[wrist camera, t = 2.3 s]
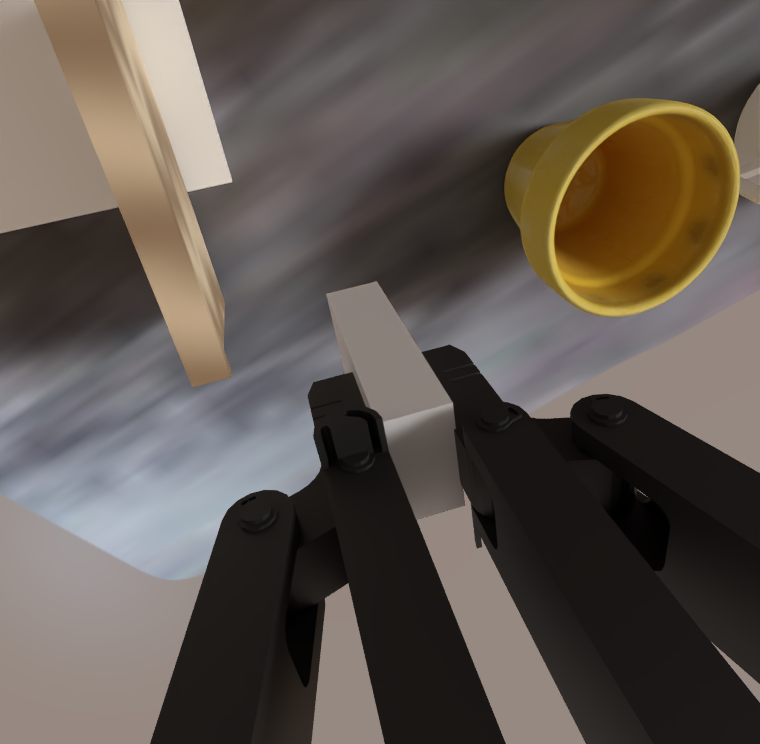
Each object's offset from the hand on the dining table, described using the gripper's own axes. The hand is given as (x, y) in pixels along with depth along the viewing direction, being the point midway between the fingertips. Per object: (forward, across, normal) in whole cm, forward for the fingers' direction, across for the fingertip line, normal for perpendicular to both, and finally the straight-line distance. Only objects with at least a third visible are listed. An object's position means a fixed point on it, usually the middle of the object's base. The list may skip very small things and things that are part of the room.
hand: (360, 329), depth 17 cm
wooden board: (+19, -6, +12) cm, 23 cm away
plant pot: (+19, +16, -3) cm, 25 cm away
